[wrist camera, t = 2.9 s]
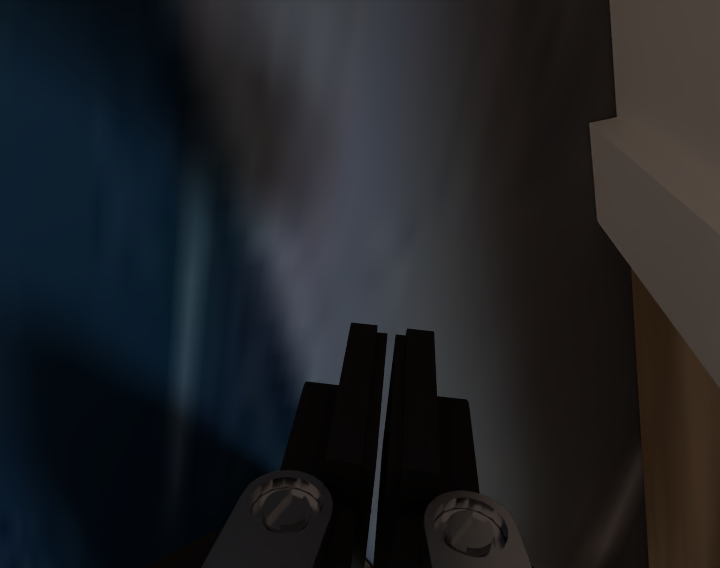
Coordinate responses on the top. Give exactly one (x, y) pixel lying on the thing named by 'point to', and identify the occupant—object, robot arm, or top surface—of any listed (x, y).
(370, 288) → the top surface
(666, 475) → the door
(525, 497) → the top surface
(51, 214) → the top surface
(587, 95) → the top surface
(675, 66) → the door frame
